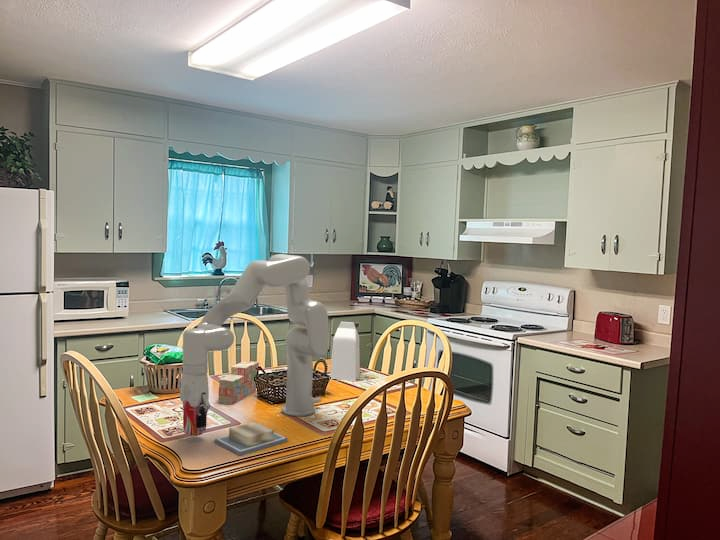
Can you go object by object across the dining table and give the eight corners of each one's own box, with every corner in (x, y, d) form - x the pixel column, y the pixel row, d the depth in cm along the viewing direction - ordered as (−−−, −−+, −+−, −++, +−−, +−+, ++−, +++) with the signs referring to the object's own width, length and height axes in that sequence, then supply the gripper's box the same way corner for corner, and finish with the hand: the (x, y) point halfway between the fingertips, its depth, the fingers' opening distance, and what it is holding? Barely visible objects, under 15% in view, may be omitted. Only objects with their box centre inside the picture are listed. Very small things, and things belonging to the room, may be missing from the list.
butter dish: (261, 429, 189) (261, 417, 189) (287, 441, 179) (288, 429, 179) (214, 441, 176) (214, 429, 176) (239, 455, 166) (240, 442, 166)
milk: (329, 379, 256) (331, 323, 254) (334, 373, 267) (337, 319, 266) (355, 381, 254) (357, 325, 252) (359, 375, 265) (362, 321, 264)
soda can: (185, 429, 181) (186, 392, 180) (208, 429, 181) (208, 392, 180) (180, 437, 174) (181, 399, 173) (204, 437, 174) (204, 399, 173)
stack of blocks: (232, 405, 213) (233, 373, 213) (217, 403, 215) (218, 371, 214) (258, 390, 234) (259, 361, 233) (244, 388, 236) (245, 360, 235)
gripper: (170, 364, 179) (170, 419, 181) (199, 376, 167) (198, 434, 169) (191, 361, 184) (191, 413, 186) (220, 371, 172) (220, 428, 174)
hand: (194, 423), depth 177 cm, fingers closed on soda can, 7 cm apart
